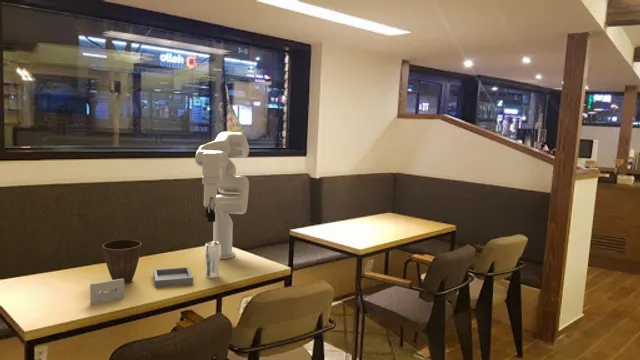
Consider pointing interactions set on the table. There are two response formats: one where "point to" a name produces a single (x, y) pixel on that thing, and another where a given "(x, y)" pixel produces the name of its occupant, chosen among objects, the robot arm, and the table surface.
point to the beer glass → (212, 259)
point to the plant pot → (122, 258)
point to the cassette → (109, 295)
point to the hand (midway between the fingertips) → (210, 219)
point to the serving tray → (172, 277)
